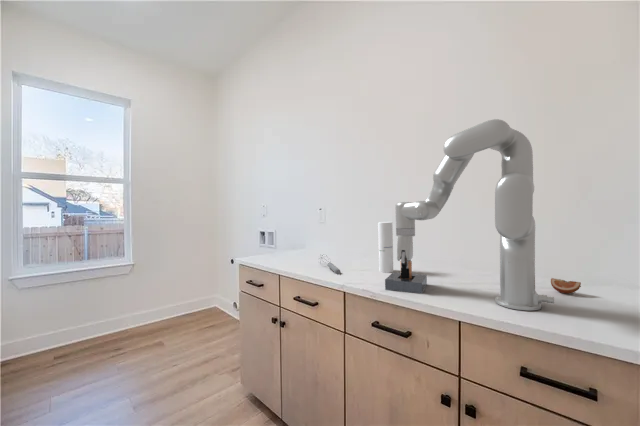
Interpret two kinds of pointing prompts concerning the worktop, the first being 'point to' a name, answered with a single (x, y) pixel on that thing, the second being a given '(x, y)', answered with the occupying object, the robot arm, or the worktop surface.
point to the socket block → (406, 283)
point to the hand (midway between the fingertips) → (406, 276)
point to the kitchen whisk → (331, 265)
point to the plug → (409, 269)
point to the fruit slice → (565, 285)
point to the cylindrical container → (385, 246)
